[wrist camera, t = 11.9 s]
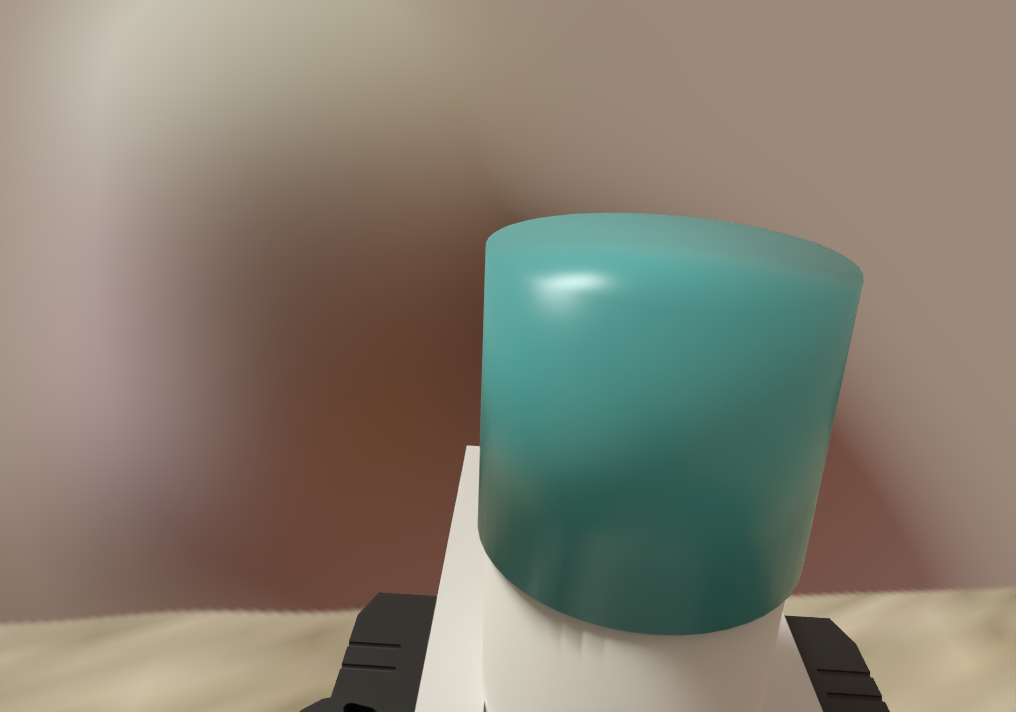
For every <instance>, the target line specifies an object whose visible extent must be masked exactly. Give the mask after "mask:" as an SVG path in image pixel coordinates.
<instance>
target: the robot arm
mask: <svg viewBox="0 0 1016 712" xmlns="http://www.w3.org/2000/svg"><path fill="white" fill-rule="evenodd" d="M479 460H480V446H467V449H466V453H465V458H464V464H463V469H462V474H461V479H460V484H459V489H458V494H457V499H456V504H455V510H454V515H453V520H452V525H451V530H450V535H449V540H448V545H447V550H446V555H445V561H444V566H443V571H442V576H441V582H440V586H439V591H438V596H425V595H409V594H392V593H378V594H377V595H376V596H375V597H374V598H373V599H372V600H371V602H370V603H369V604H368V605H367V606H366V607H365V608H364V609H363V610H362V611H361V612H360V613H359V614H358V616H357V619H356V622H355V625H354V628H353V631H352V634H351V637H350V640H349V647H347V650H346V653H345V656H344V659H343V662H342V668H341V669H340V671H339V674H338V677H337V680H336V683H335V686H334V689H333V692H332V696H331V697H330V698H325V699H321V700H320V701H318V702H316V703H314V704H312V705H310V706H308V707H306V708H304V709H302V710H301V711H300V712H484V697H483V691H482V649H483V621H484V592H485V563H486V552H485V550H484V548H483V546H482V543H481V541H480V537H479V532H478V494H479ZM762 712H890V711H889V709H888V707H887V705H886V703H885V702H882V695H881V693H880V691H879V689H878V687H877V685H876V683H875V681H874V679H873V678H871V677H870V671H869V669H868V667H867V665H866V663H865V661H864V659H863V657H862V655H861V653H860V651H859V649H858V647H857V645H856V644H855V643H854V642H853V641H852V640H851V639H850V638H849V637H848V636H847V635H846V634H845V633H844V632H843V631H842V630H841V629H840V628H839V627H838V626H837V625H836V624H835V623H834V622H833V621H832V620H831V619H829V618H814V617H798V616H784V614H783V612H782V617H781V621H780V626H779V631H778V636H777V641H776V646H775V651H774V655H773V660H772V665H771V670H770V675H769V680H768V685H767V689H766V694H765V699H764V704H763V709H762Z"/></svg>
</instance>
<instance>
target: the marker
mask: <svg viewBox="0 0 1016 712" xmlns="http://www.w3.org/2000/svg"><path fill="white" fill-rule="evenodd" d="M485 260H486V262H485V295H484V326H483V329H484V330H483V359H482V360H483V361H482V393H481V427H480V428H481V429H480V460H479V494H478V532H479V537H480V541H481V543H482V546H483V548H484V550H485V552H486V563H485V592H484V621H483V649H482V691H483V697H484V712H762V709H763V704H764V699H765V694H766V689H767V685H768V680H769V675H770V670H771V665H772V660H773V655H774V651H775V646H776V641H777V636H778V631H779V626H780V621H781V617H782V612H783V607H784V602H785V600H786V599H787V598H788V597H789V596H790V595H791V593H792V592H793V590H794V588H795V587H796V585H797V584H798V581H799V578H800V575H801V573H802V568H803V563H804V559H805V554H806V549H807V544H808V540H809V535H810V530H811V526H812V521H813V516H814V511H815V507H816V502H817V497H818V493H819V488H820V483H821V479H822V473H823V469H824V465H825V460H826V455H827V450H828V446H829V441H830V436H831V431H832V427H833V422H834V417H835V413H836V408H837V403H838V398H839V394H840V389H841V384H842V380H843V375H844V370H845V365H846V361H847V356H848V351H849V346H850V342H851V337H852V332H853V327H854V323H855V318H856V313H857V308H858V304H859V299H860V295H861V290H862V285H863V273H862V271H861V270H860V268H859V267H858V266H857V265H856V264H855V263H853V262H852V261H851V260H850V259H848V258H847V257H845V256H843V255H842V254H840V253H838V252H836V251H834V250H832V249H829V248H827V247H824V246H822V245H819V244H817V243H814V242H811V241H808V240H805V239H802V238H798V237H795V236H791V235H788V234H784V233H780V232H776V231H772V230H768V229H763V228H758V227H753V226H748V225H743V224H737V223H731V222H725V221H718V220H711V219H702V218H694V217H684V216H673V215H659V214H639V213H587V214H571V215H560V216H552V217H544V218H538V219H533V220H527V221H523V222H520V223H516V224H513V225H510V226H507V227H504V228H502V229H500V230H498V231H497V232H495V233H494V234H492V235H491V236H490V237H489V238H488V240H487V242H486V259H485Z"/></svg>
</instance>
